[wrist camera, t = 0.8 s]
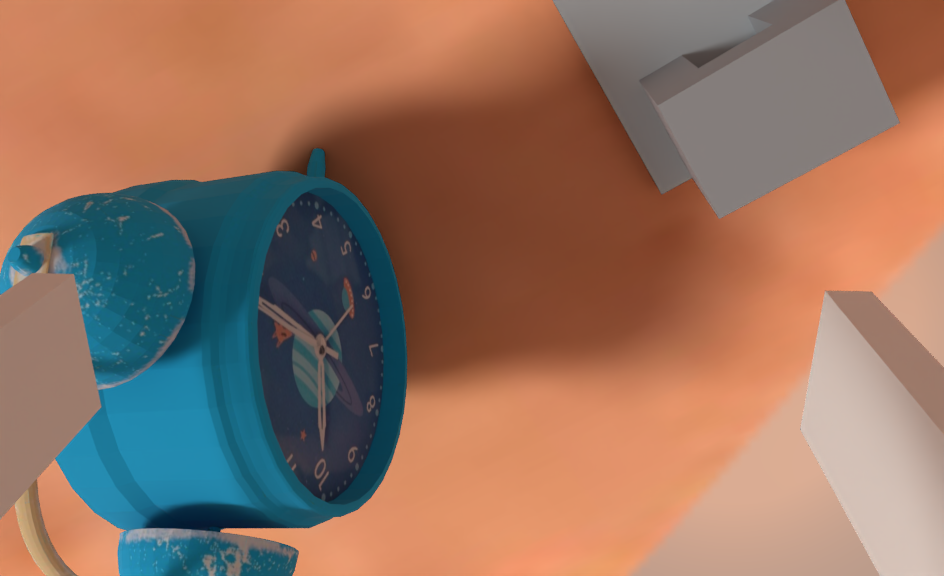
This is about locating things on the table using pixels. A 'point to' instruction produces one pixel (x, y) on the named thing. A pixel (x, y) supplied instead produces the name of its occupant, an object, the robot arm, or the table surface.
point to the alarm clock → (223, 365)
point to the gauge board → (645, 48)
